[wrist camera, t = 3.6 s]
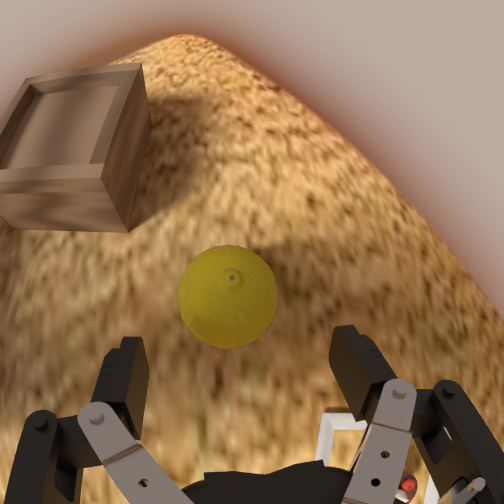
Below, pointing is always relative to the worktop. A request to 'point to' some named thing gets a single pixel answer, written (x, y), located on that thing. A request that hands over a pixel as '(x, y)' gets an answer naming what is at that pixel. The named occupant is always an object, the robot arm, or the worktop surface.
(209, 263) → the lemon
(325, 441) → the white square frame
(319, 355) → the worktop surface
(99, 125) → the wooden box
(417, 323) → the worktop surface
